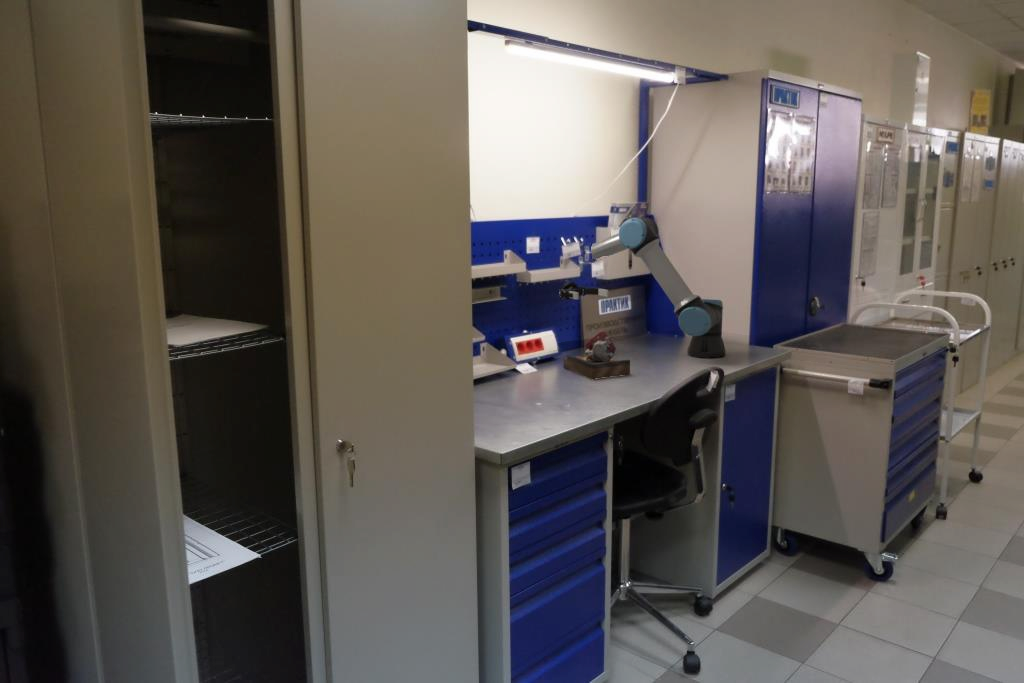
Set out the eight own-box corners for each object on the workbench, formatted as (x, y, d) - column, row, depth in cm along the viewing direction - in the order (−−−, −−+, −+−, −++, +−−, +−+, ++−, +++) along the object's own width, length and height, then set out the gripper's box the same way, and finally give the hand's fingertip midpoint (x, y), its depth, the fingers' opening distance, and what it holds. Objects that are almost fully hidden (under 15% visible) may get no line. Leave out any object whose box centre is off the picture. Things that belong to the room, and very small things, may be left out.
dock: (599, 363, 294) (599, 349, 293) (629, 374, 275) (630, 360, 274) (563, 367, 288) (563, 353, 287) (591, 379, 268) (591, 364, 267)
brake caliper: (616, 352, 283) (618, 330, 275) (612, 374, 276) (613, 352, 267) (587, 348, 286) (587, 326, 277) (581, 369, 278) (581, 347, 270)
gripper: (592, 296, 319) (619, 301, 300) (540, 301, 309) (565, 306, 290) (592, 279, 318) (619, 282, 299) (540, 283, 308) (564, 287, 289)
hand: (592, 294), depth 294 cm, fingers open, 13 cm apart
